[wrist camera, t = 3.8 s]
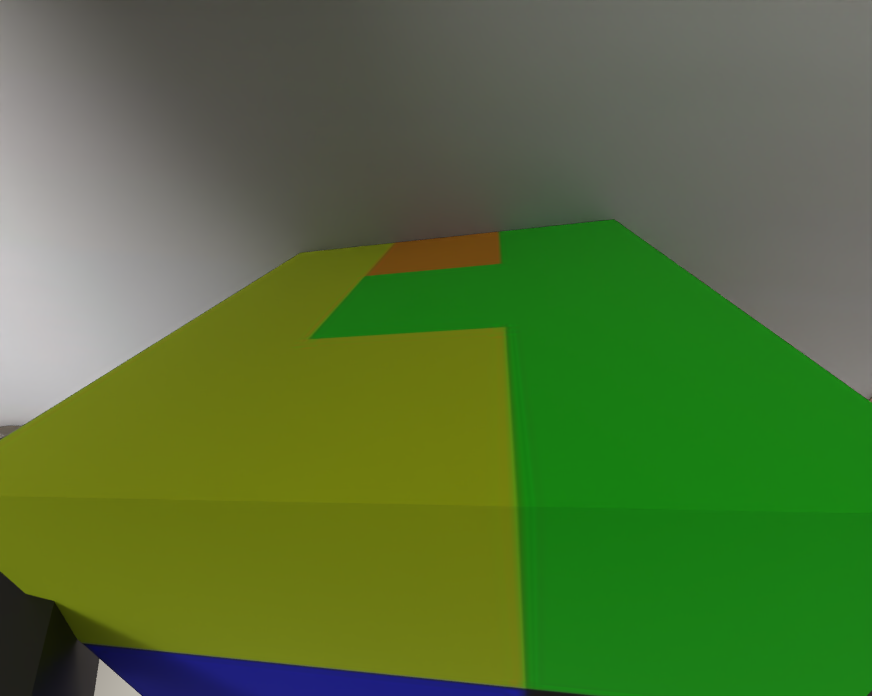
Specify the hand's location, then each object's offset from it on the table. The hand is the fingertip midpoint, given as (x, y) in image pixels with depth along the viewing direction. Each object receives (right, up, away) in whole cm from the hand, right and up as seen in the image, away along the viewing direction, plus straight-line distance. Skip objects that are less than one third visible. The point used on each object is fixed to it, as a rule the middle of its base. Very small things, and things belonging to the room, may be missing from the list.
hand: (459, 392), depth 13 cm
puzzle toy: (0, +1, +1) cm, 2 cm away
